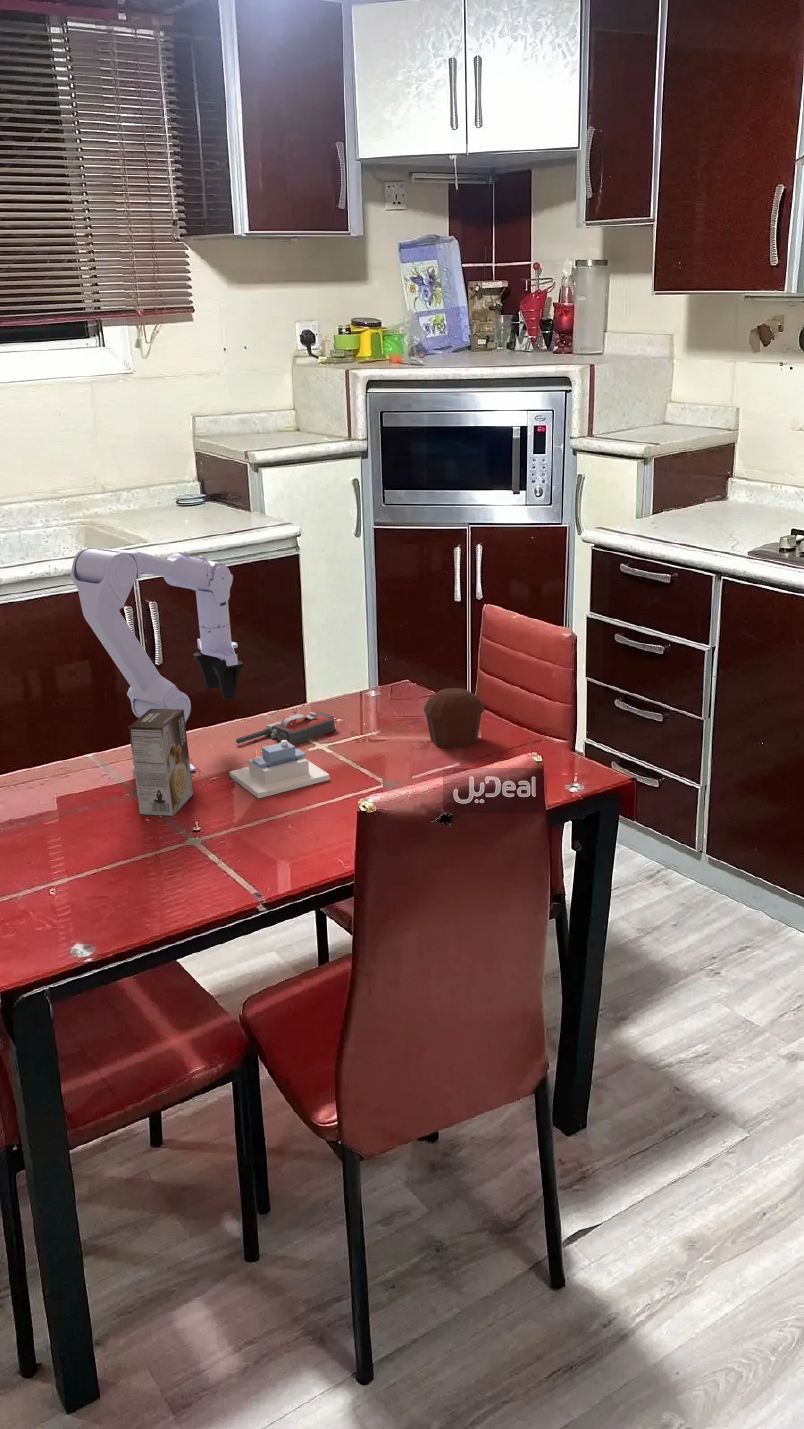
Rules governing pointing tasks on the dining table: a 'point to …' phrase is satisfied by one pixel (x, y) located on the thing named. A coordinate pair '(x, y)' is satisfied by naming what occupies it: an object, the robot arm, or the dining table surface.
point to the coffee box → (161, 761)
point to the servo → (278, 754)
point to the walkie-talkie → (296, 728)
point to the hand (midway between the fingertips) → (220, 692)
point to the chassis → (278, 777)
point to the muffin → (453, 717)
